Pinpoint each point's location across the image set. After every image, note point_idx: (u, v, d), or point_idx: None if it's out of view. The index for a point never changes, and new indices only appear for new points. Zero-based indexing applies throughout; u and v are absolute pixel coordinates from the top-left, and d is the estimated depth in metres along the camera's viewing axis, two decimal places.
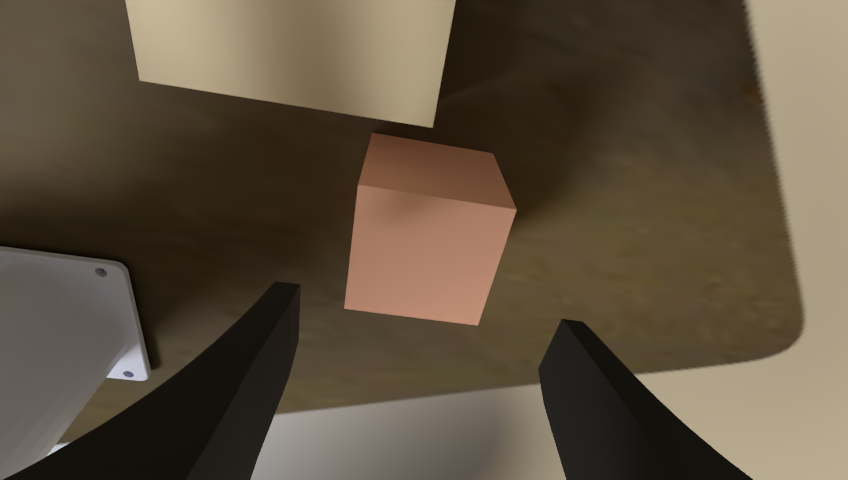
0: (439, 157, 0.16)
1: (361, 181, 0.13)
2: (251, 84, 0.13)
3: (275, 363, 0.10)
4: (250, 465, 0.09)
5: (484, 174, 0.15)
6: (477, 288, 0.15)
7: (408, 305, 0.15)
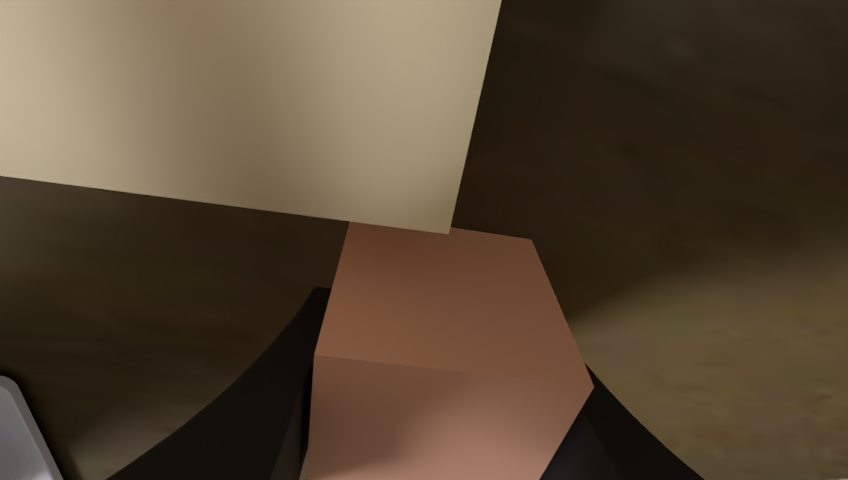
0: (454, 259, 0.10)
1: (321, 344, 0.07)
2: (130, 171, 0.07)
3: None
4: (299, 469, 0.09)
5: (526, 294, 0.10)
6: None
7: None
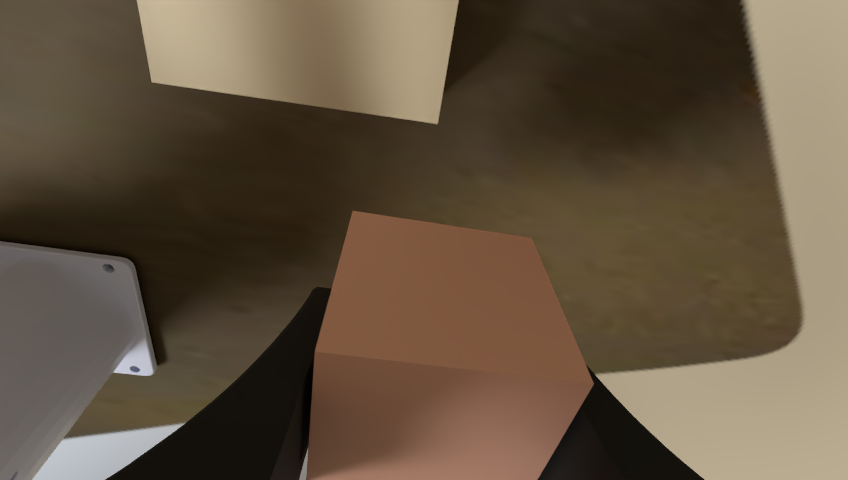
0: (455, 257, 0.10)
1: (322, 341, 0.07)
2: (260, 84, 0.13)
3: None
4: (299, 469, 0.09)
5: (527, 292, 0.10)
6: (517, 479, 0.09)
7: None
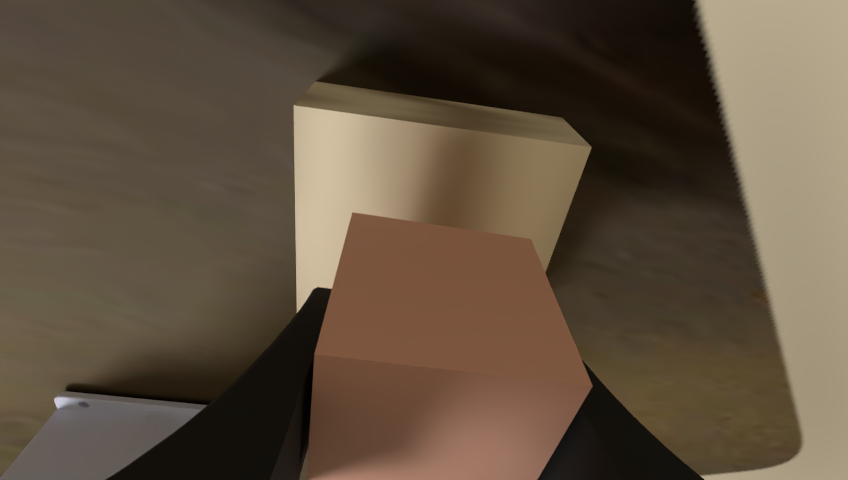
0: (454, 259, 0.10)
1: (321, 343, 0.07)
2: None
3: None
4: (299, 469, 0.09)
5: (525, 293, 0.10)
6: None
7: None
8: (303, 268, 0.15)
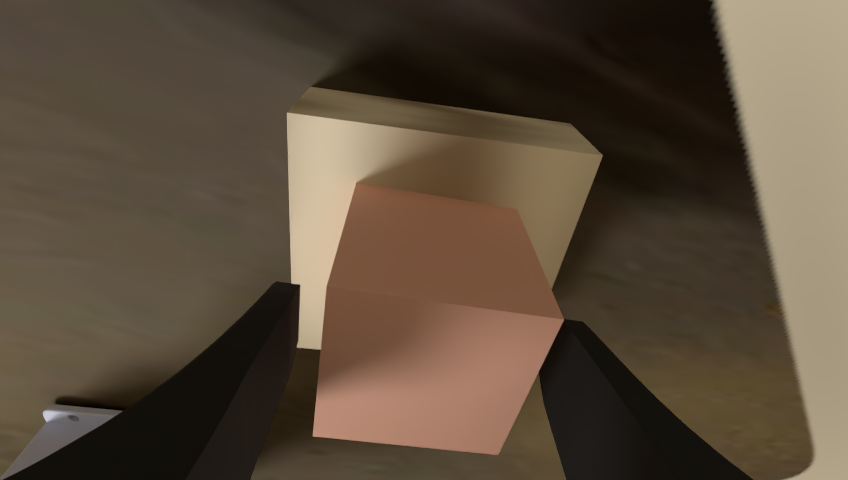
0: (447, 221, 0.12)
1: (332, 279, 0.09)
2: None
3: (275, 363, 0.10)
4: (250, 465, 0.09)
5: (510, 250, 0.11)
6: (500, 413, 0.11)
7: (402, 432, 0.11)
8: (299, 282, 0.15)
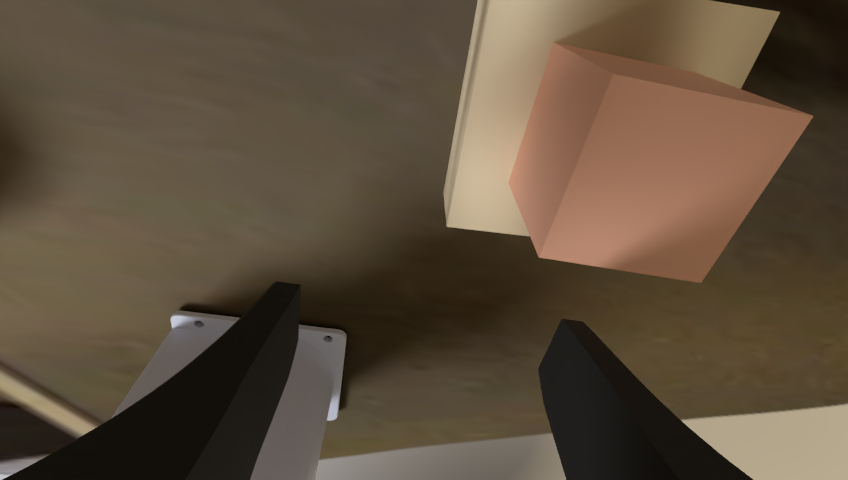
0: (653, 67, 0.13)
1: (611, 72, 0.10)
2: None
3: (275, 363, 0.10)
4: (250, 465, 0.09)
5: (722, 86, 0.12)
6: (719, 231, 0.12)
7: (621, 254, 0.12)
8: (467, 153, 0.16)
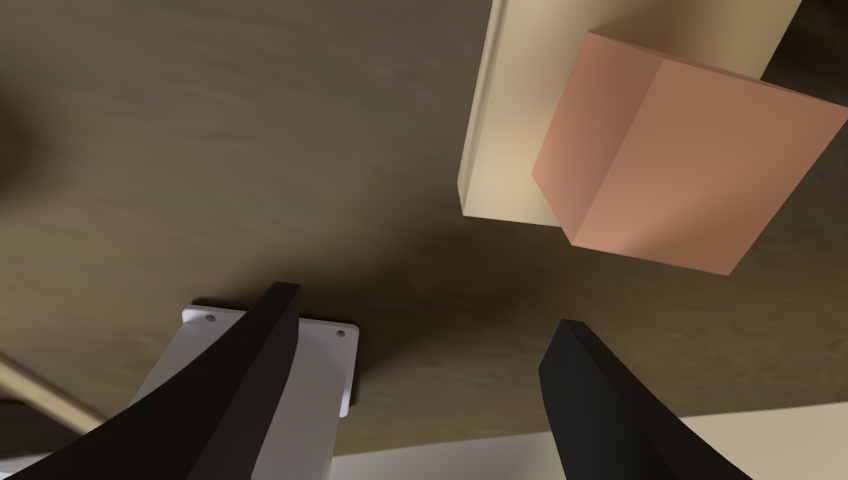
0: (687, 60, 0.13)
1: (661, 57, 0.10)
2: (545, 215, 0.17)
3: (275, 363, 0.10)
4: (250, 465, 0.09)
5: (757, 80, 0.12)
6: (751, 223, 0.12)
7: (654, 244, 0.12)
8: (486, 139, 0.15)
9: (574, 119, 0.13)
